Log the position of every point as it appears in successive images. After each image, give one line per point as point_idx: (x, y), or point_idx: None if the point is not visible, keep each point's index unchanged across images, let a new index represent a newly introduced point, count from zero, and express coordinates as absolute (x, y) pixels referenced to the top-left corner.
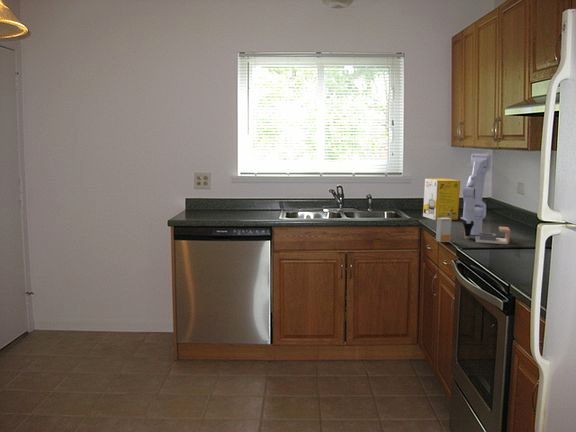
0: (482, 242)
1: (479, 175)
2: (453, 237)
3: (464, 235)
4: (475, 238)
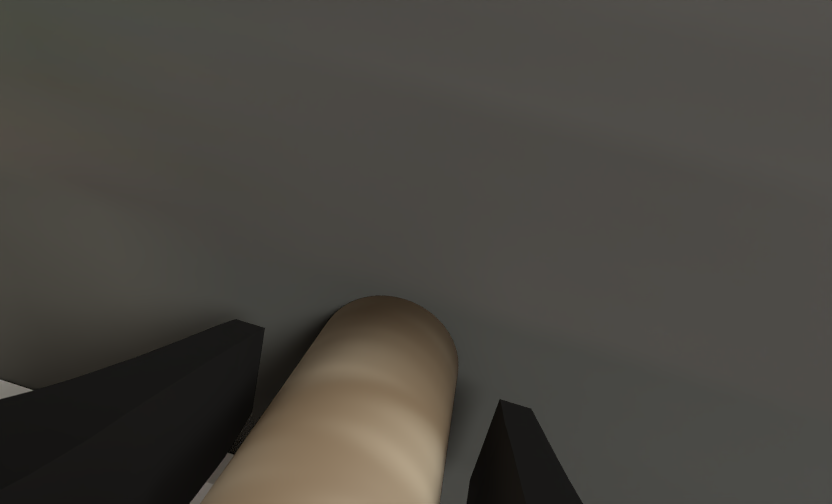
0: None
1: None
2: (471, 32)
3: (354, 328)
4: None
